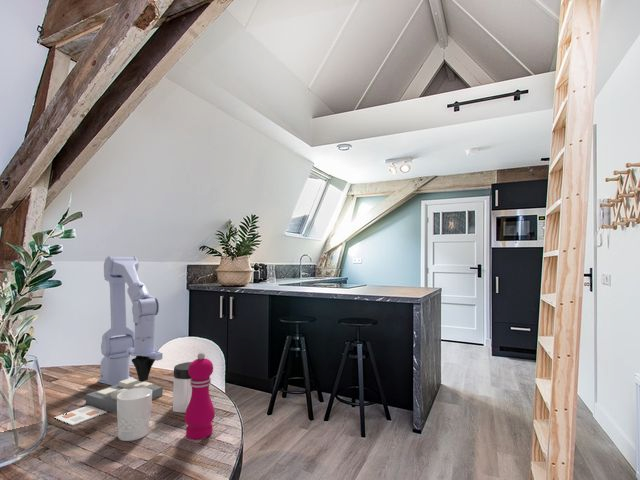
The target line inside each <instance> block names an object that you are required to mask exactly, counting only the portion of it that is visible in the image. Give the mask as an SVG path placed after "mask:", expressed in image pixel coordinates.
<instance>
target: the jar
mask: <svg viewBox="0 0 640 480" xmlns="http://www.w3.org/2000/svg"><path fill="white" fill-rule="evenodd" d="M192 362H193V361H189V362H188V361H186V362H182V363H177V364H176V365H175V366H174V367H173V386H172V412H174V413H182V414H183V413H184V414H185V412H186V409H187V407H188V404H189V402H190V400H191V396H192V386H190V383H191V382H190V380H191V379H192V378H191V377H190V376H189V373H188V369H189V365H190V364H191V363H192Z"/></svg>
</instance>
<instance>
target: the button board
mask: <svg viewBox="0 0 640 480" xmlns="http://www.w3.org/2000/svg"><path fill="white" fill-rule="evenodd" d="M139 383H142V382H141V381H139V380H138V384H139ZM107 388H113V389H116V390H121V389H126V388H122V387H119V384H117V385H114V386H112V385H110V386H107V387H104V388H102V389H99V390H96V391H93V392H89V393H86V394H85V404H86V403H87V405H89V406H92V407H95V408H98V409H101V410H104V411H107V412H111V413H115V414H117V400H115V399H112V398H111V394H110V395H107V396H102V395H98V394H97V392H98V391H101V390H104V389H107ZM163 388H164V387H163V386H159V385H155V384H153V389H151V390H152V400H155V399H158V398H160V397H162V396H163ZM127 389H128V390H130V389H133V387H130V388H127Z"/></svg>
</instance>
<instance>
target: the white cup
mask: <svg viewBox="0 0 640 480" xmlns="http://www.w3.org/2000/svg"><path fill="white" fill-rule="evenodd" d="M152 400H153V399H152V390H151V389H148V388H135V389H130V390H126V391H123V392H121V393H119V394H118V395H117V413H116V421H117V438H118V439H119V440H120V441H125V442H130V441H131V442H132V441H136V440H139V439H142V438H144V437H146V436H147V435H148V434H149V431H150V430H149V429H150V421H151V413H152Z"/></svg>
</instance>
